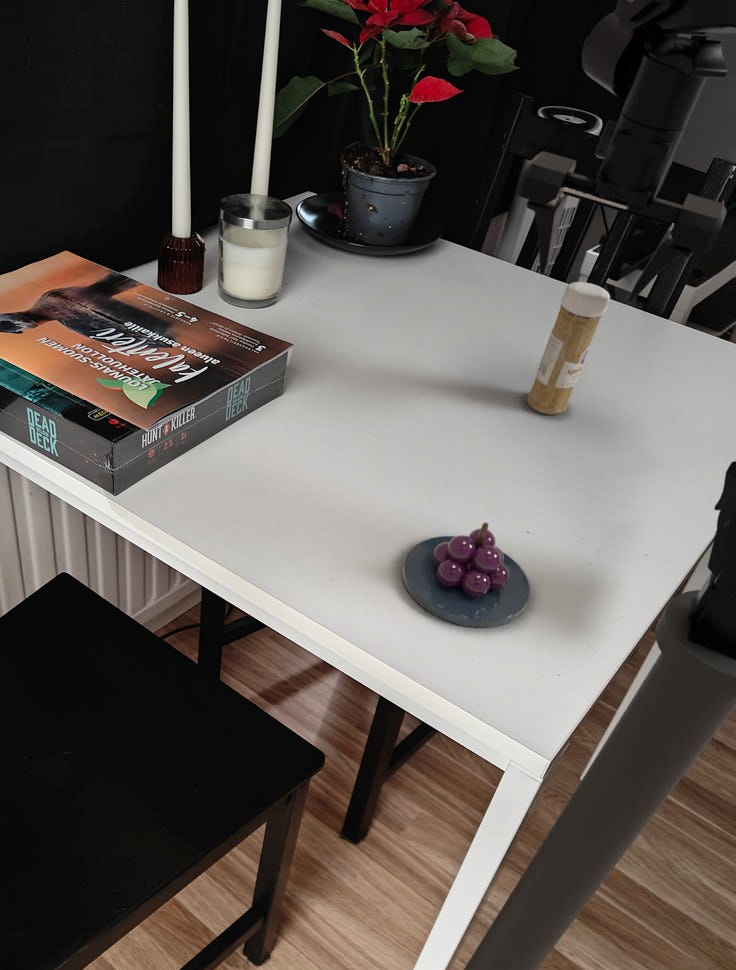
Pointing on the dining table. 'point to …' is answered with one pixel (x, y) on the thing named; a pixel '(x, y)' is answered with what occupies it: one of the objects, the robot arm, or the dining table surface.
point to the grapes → (466, 579)
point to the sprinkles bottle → (567, 346)
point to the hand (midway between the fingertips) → (585, 286)
